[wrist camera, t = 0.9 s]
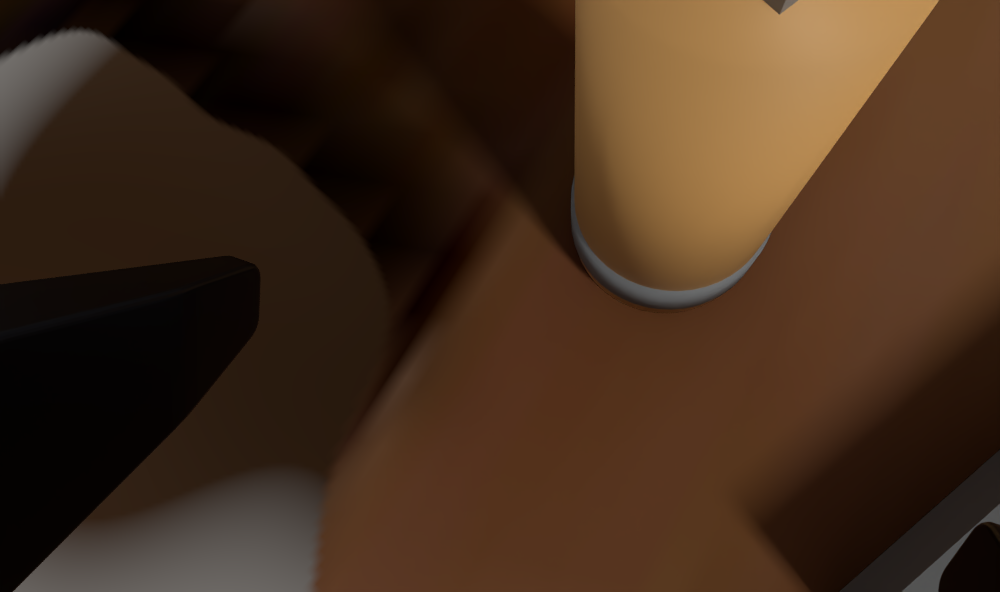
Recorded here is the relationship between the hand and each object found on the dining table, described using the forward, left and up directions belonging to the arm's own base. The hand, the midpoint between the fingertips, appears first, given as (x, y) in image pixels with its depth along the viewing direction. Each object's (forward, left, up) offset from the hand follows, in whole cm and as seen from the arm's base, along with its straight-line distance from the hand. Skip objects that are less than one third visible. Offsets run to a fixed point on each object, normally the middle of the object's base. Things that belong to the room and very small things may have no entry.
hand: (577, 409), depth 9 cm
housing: (+7, +4, -13) cm, 15 cm away
